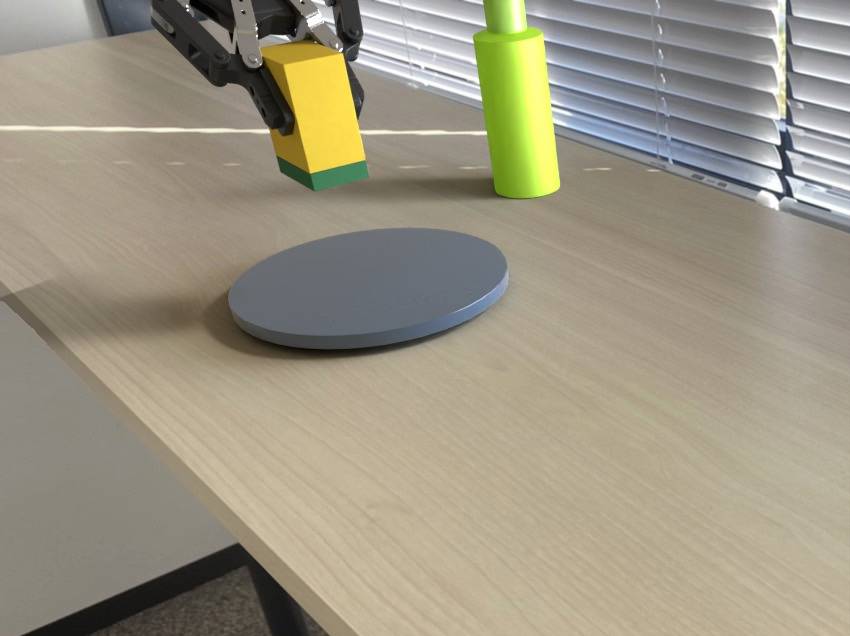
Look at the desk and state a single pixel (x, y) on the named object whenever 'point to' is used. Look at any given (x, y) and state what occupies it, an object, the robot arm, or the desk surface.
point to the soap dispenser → (516, 102)
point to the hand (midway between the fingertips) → (322, 120)
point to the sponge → (316, 116)
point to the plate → (369, 288)
